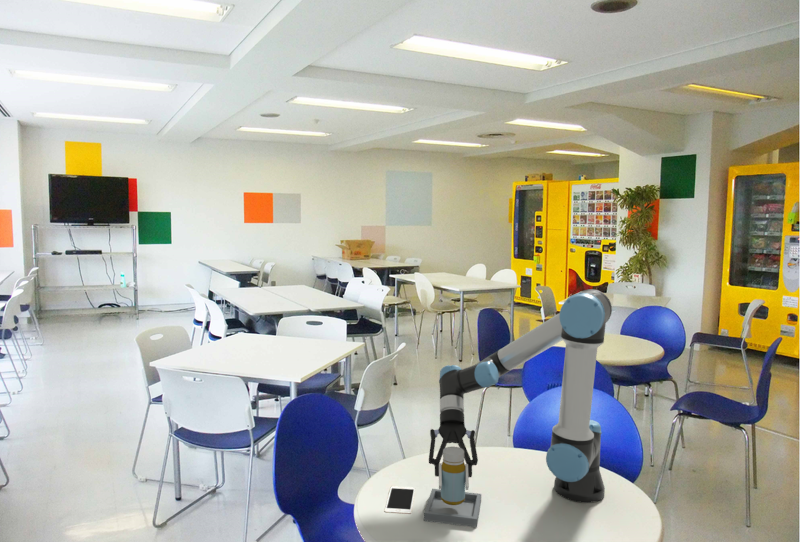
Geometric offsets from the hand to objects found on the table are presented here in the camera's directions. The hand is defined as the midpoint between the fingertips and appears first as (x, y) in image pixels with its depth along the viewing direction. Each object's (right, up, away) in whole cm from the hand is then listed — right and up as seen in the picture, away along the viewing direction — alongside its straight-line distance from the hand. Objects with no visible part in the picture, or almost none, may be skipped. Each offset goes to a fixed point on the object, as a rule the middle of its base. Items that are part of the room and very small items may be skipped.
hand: (453, 487), depth 166 cm
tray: (0, -8, +4) cm, 9 cm away
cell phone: (-15, -8, +11) cm, 20 cm away
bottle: (0, -5, +4) cm, 7 cm away
